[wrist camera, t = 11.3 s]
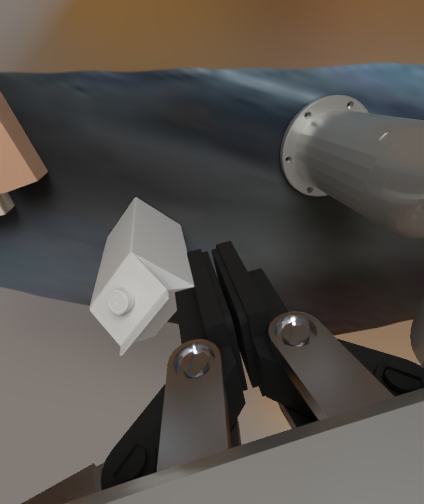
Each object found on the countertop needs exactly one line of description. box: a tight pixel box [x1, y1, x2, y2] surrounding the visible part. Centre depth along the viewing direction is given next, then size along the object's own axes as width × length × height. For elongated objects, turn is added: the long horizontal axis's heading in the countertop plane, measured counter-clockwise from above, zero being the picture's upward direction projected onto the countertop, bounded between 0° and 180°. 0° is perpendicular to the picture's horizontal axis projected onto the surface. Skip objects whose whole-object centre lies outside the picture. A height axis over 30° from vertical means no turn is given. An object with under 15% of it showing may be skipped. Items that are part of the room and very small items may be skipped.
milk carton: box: [90, 197, 195, 356], centre depth 33 cm, size 7×7×19 cm
